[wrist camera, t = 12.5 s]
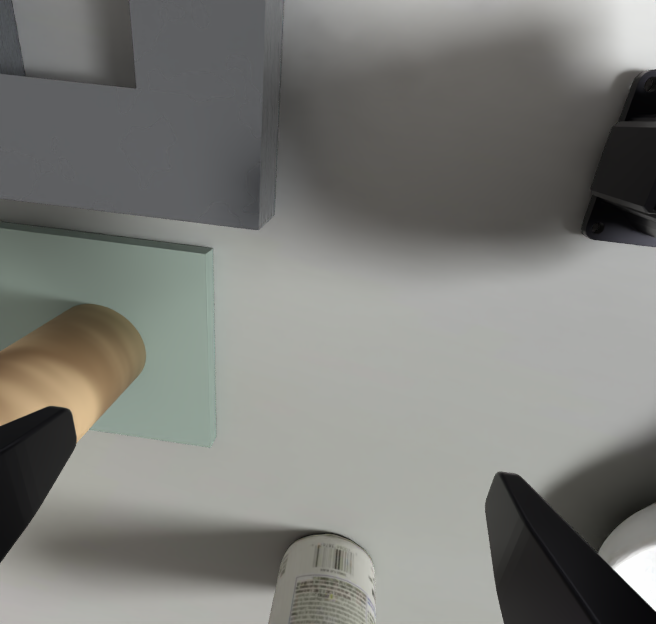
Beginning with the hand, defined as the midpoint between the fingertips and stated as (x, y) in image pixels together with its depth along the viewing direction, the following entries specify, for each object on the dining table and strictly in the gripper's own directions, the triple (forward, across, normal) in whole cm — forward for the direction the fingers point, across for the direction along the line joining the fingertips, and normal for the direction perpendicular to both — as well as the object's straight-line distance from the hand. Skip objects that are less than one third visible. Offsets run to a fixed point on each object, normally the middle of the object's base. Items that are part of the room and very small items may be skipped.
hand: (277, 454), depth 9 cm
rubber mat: (+13, +12, +6) cm, 19 cm away
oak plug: (+12, +12, +6) cm, 18 cm away
